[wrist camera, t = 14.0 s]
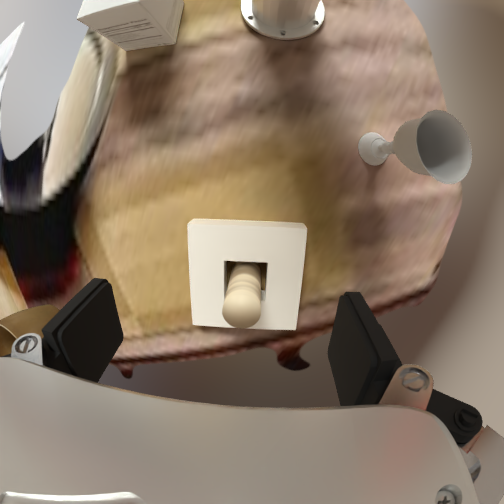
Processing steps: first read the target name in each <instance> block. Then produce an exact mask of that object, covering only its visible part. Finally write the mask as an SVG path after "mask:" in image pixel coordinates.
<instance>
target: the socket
mask: <svg viewBox="0 0 504 504" xmlns="http://www.w3.org/2000/svg"><path fill="white" fill-rule="evenodd" d="M306 238H307V228H306V226H305V225H304V223H294V222H275V221H252V220H225V219H193V220H191V221H190V222H189V223H188V253H189V274H190V291H191V306H192V319H193V325H201V326H214V327H229V328H235V327H233V326H231V325H229V324H228V323H227V322H226V321H225V319H224V318H223V315H222V308H223V304H224V300H225V296H226V292H227V261H243V262H266V263H267V267H266V283H265V290H261V316H260V319H259V320H258V322H257V323H256V324H255V325H253V326H251V327H249V328H247V329H272V330H296V324H297V317H298V309H299V302H300V293H301V285H302V277H303V268H304V258H305V248H306Z"/></svg>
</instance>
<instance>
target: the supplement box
mask: <svg viewBox="0 0 504 504" xmlns="http://www.w3.org/2000/svg"><path fill="white" fill-rule="evenodd" d="M183 6H184V2H183V0H83V3H82V6H81V8H80V11H79V14H78V17H77V20H79V21H80V22H82V23H84V24H85V25H87V26H88V27H90V28H92V29H93V30H95V31H97V32H98V33H100V34H101V35H103V36H104V37H106V38H107V39H109V40H111V41H112V42H114V43H115V44H117V45H118V46H120V47H121V48H122V49H124V50H125V51H130V50H136V49H142V48H149V47H156V46H164V45H173V44H176V40H177V35H178V29H179V24H180V20H181V15H182V11H183Z"/></svg>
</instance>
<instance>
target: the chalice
mask: <svg viewBox="0 0 504 504" xmlns="http://www.w3.org/2000/svg"><path fill="white" fill-rule="evenodd" d="M358 149H359V154H360V156H361V158H362V159H363V160H364V161H365V162H366V163H368V164H370V165H380V164H382V163H383V162H384V161H385V160H386V159H387V157H388V155H389V154H391V153H393V154H396V156H397V157H398V159H399V160H400V161H401V162H402V163H403V164H404V165H405V166H406V167H407V168H409V169H410V170H411V171H413V172H415V173H418V174H422V175H428V176H432V177H434V178H435V179H436V180H437V181H440V182H442V183H445V184H455V183H457V182H459V181H461V180H462V179H463V178H464V177H465V176H466V174H467V173H468V171H469V168H470V166H471V158H472V151H471V143H470V140H469V137H468V135H467V132H466V130H465V129H464V127H463V126H462V125H461V123H460V122H459V121H458V120H457V119H456V118H455V117H454V116H453V115H451V114H449V113H447V112H446V111H441V110H433V111H430V112H427V113H426V114H425V115H424V116H423V117H422V118H419V119H414V120H410V121H407V122H405V123H404V124H403V125H402V126H401V127H400V128H399V129H398V131H397V132H396V134H395V136H394V140H393V142H387V141H386V140H385V139H384V138H383V137H382V136H381V135H379V134H377V133H374V132H369V133H367V134H364V135H363V136H362V137H361V139H360V141H359V145H358Z"/></svg>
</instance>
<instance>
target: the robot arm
mask: <svg viewBox="0 0 504 504" xmlns="http://www.w3.org/2000/svg"><path fill="white" fill-rule="evenodd" d="M241 12H242V16H243V18H244V20H245V22H246V23H247V24H248V25H249V26H250V27H251V28H252V29H253V30H255V31H256V32H258V33H260V34H262V35H264V36H267V37H270V38H274V39H281V40H294V39H300V38H304V37H307V36H309V35H311V34H313V33H314V32H315V31H316V30H318V29H319V27H320V26H321V25H322V23H323V20H324V17H325V8H324V5H323V3H322V1H321V0H242V1H241ZM250 19H252V20H250ZM315 24H316V25H315ZM282 34H283V35H282ZM41 331H42V333H43V335H44V337H43V338H42V339H41V337H40V336H39V335H38V334H35V333H28V334H25V335H22V336H20V337H19V338H18V339H16V340H15V342H14V343H13V345H12V351H11V354H8V355H5V356H1V357H0V504H498V503H499V501H500V500H501V499H502V497H503V495H504V438H503V437H502V436H500V435H499V434H498V433H497V432H496V431H494V430H493V429H492V428H490V427H489V426H488V425H487V426H486V427H485V428H484V427H483V426H482V417H481V415H480V413H479V412H478V410H477V409H476V408H474V407H472V406H471V405H468V404H466V403H464V402H461V401H459V400H457V399H454V398H452V397H450V396H448V395H445V394H443V393H441V392H439V391H436V390H434V389H433V386H434V380H433V377H432V375H431V374H430V373H429V372H428V371H427V370H426V369H424V368H423V367H421V366H417V365H413V364H412V365H411V364H407V365H402V364H401V361H400V359H399V357H398V355H397V354H396V352H395V350H394V348H393V346H392V344H391V343H390V341H389V339H388V337H387V336H386V334H385V332H384V330H383V328H382V326H381V325H380V324H378V322H377V320H376V318H375V317H374V315H373V313H372V311H371V310H370V308H369V306H368V305H367V303H366V301H365V300H364V298H363V296H362V295H361V293H360V292H346V293H345V294H344V296H340V298H339V303H338V308H337V313H336V317H335V322H334V326H333V330H332V335H331V339H330V343H329V347H328V358H329V362H330V365H331V369H332V373H333V377H334V380H335V384H336V389H337V393H338V397H339V401H340V405H341V406H337V407H315V408H261V407H241V406H227V405H216V404H207V403H197V402H190V401H183V400H176V399H170V398H163V397H158V396H153V395H147V394H142V393H138V392H133V391H129V390H124V389H120V388H116V387H112V386H108V385H104V384H100V383H98V381H99V379H100V378H101V376H102V374H103V372H104V371H105V369H106V367H107V366H108V364H109V362H110V361H111V359H112V358H113V356H114V354H115V353H116V351H117V349H118V348H119V346H120V345H121V343H122V341H123V331H122V328H121V324H120V320H119V316H118V312H117V308H116V304H115V299H114V295H113V290H112V286H111V284H110V283H108V281H107V280H106V279H99V278H94V279H93V280H91V281H90V282H89V283H88V284H87V285H86V286H85V287H84V288H83V289H82V290H81V291H80V292H79V293H77V294H76V295H75V296H74V297H73V298H72V299H71V300H70V301H69V302H68V303H67V304H66V305H65V306H64V307H63V308H62V309H61V310H60V311H59V312H58V313H57V314H56V315H55V316H54V317H53V318H52V319H51V320H50V321H49V322H48V323H47V324H46V325H45V326H44V327H43V328H42V329H41Z"/></svg>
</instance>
